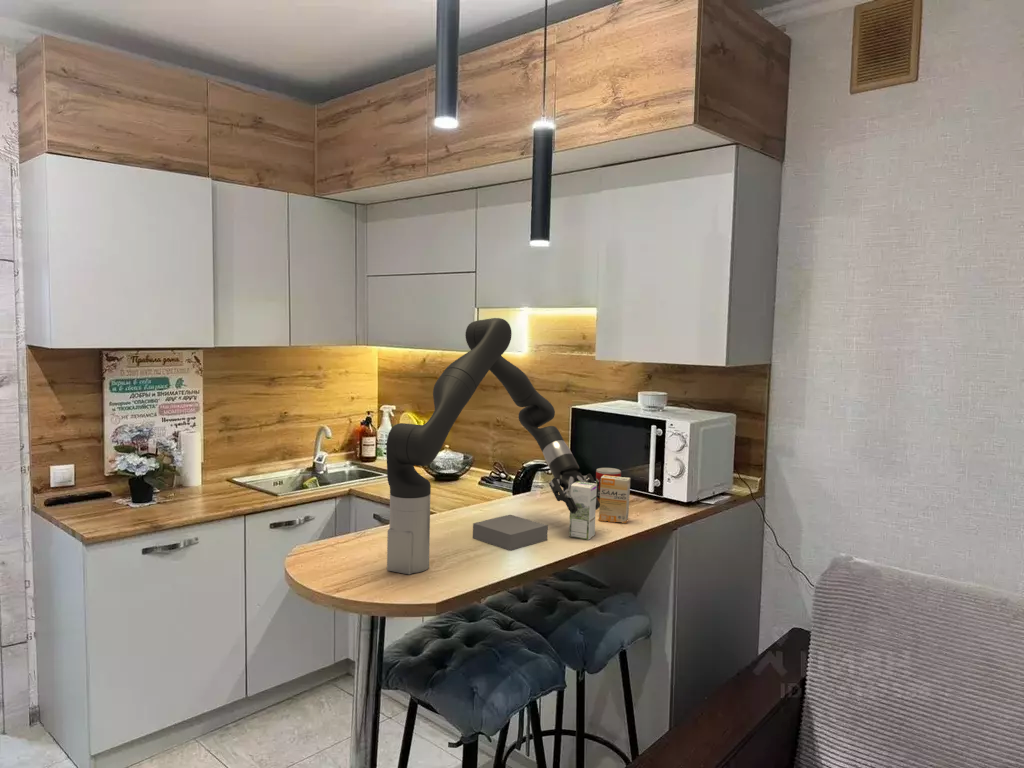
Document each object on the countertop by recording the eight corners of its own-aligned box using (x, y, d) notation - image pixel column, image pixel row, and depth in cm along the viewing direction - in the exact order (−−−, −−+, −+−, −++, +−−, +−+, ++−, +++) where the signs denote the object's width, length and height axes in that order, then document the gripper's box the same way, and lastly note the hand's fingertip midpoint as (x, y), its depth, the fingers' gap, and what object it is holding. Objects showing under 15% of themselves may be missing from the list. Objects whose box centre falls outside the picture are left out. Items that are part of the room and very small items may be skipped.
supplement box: (598, 521, 210) (599, 477, 209) (601, 517, 214) (603, 474, 213) (626, 524, 207) (628, 480, 206) (628, 520, 212) (630, 476, 211)
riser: (510, 550, 180) (510, 534, 179) (472, 538, 189) (473, 523, 189) (547, 539, 190) (547, 525, 189) (509, 528, 199) (510, 514, 199)
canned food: (591, 500, 235) (592, 467, 234) (614, 500, 237) (615, 467, 236) (599, 506, 227) (601, 472, 227) (623, 505, 229) (624, 472, 229)
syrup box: (595, 535, 195) (597, 482, 194) (588, 540, 190) (590, 486, 189) (575, 532, 198) (577, 480, 197) (568, 537, 192) (570, 484, 191)
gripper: (546, 454, 194) (572, 505, 185) (586, 450, 202) (613, 499, 194) (534, 470, 199) (559, 521, 190) (573, 465, 207) (599, 514, 198)
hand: (586, 510), depth 192 cm, fingers closed on syrup box, 7 cm apart
